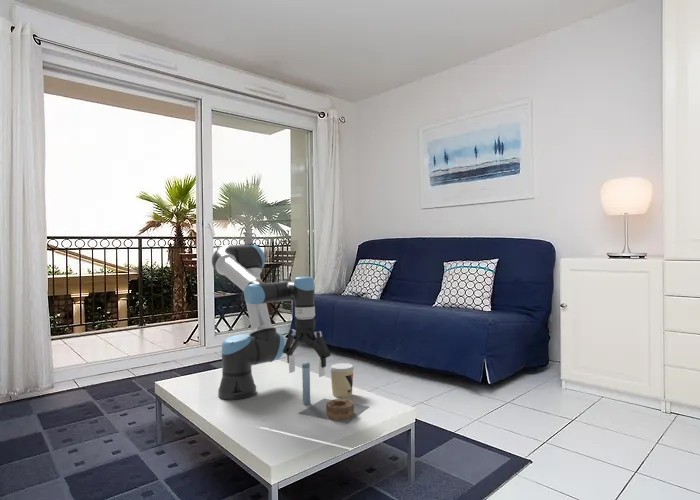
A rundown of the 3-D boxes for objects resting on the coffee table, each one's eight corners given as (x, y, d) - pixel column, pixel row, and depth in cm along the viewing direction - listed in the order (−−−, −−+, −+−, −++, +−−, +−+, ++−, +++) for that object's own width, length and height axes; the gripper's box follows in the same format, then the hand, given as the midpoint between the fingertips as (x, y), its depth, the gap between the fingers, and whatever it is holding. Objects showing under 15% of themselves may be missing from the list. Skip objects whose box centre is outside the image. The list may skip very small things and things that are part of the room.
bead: (322, 416, 153) (322, 405, 153) (335, 408, 161) (335, 397, 161) (344, 421, 148) (344, 409, 148) (357, 412, 156) (357, 401, 156)
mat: (298, 414, 156) (298, 413, 156) (323, 399, 171) (323, 398, 171) (347, 425, 147) (347, 423, 147) (369, 408, 162) (369, 406, 162)
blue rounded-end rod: (301, 405, 166) (300, 363, 165) (305, 403, 168) (304, 361, 168) (307, 406, 164) (306, 364, 164) (311, 404, 167) (311, 362, 167)
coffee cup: (351, 400, 170) (351, 369, 170) (328, 399, 172) (327, 368, 172) (356, 392, 180) (355, 363, 179) (333, 391, 181) (333, 362, 181)
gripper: (272, 317, 169) (274, 372, 168) (328, 321, 156) (329, 380, 156) (284, 314, 175) (286, 368, 175) (338, 317, 163) (340, 375, 163)
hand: (306, 374), depth 166 cm, fingers open, 13 cm apart
